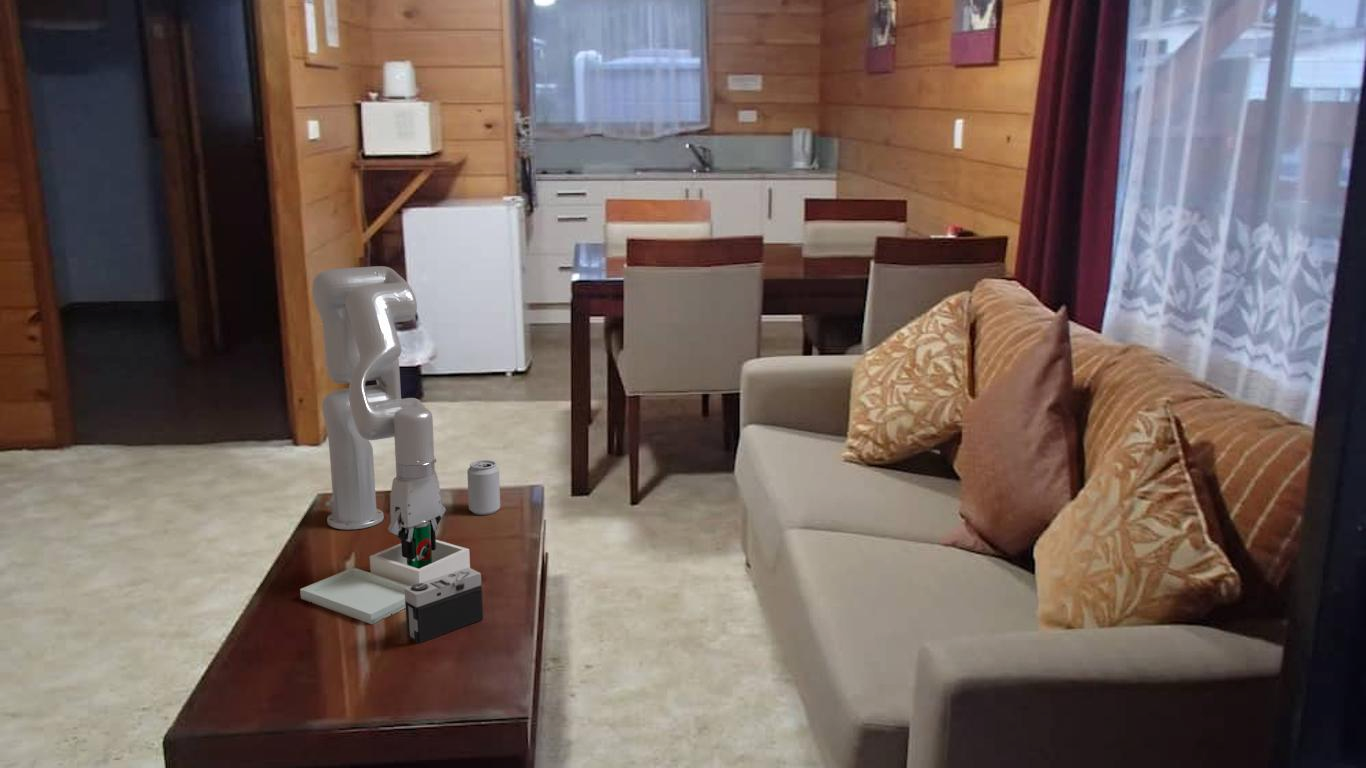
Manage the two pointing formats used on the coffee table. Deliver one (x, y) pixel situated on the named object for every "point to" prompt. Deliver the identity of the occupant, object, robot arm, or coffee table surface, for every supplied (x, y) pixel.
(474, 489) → the can
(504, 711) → the coffee table surface
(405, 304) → the robot arm
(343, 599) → the tray
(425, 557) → the soda can
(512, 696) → the coffee table surface
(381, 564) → the holder
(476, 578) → the camera
